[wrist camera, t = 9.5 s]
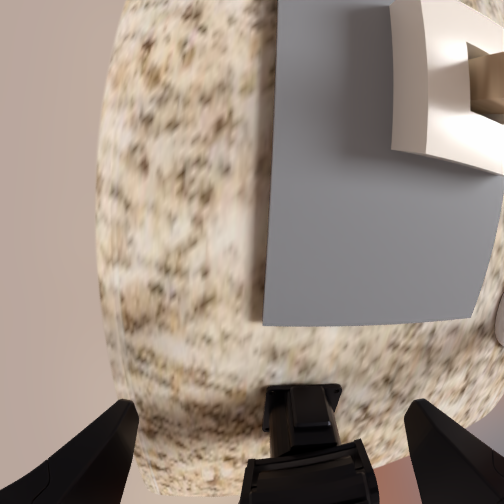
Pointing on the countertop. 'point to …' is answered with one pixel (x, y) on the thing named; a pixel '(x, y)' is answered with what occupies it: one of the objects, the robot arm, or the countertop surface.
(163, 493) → the countertop surface
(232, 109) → the countertop surface
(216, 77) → the countertop surface
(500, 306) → the candlestick
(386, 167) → the board
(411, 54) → the holder
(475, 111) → the peg
